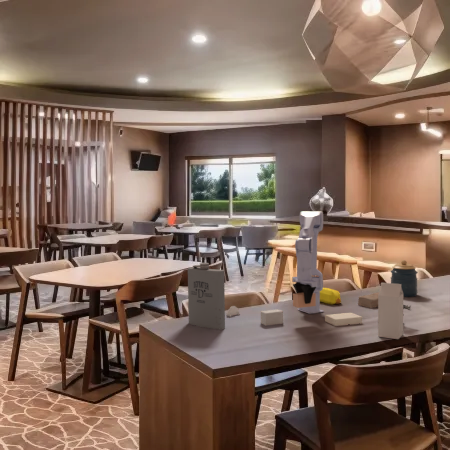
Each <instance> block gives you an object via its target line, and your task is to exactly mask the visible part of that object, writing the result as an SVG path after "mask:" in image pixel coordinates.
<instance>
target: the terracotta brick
mask: <svg viewBox="0 0 450 450" xmlns="http://www.w3.org/2000/svg"><path fill="white" fill-rule="evenodd" d="M311 306H316V293H313V295H312V299H311V303H309V304H305V300H304V293H292V307H295V308H296V309H298V308H302V307H311Z"/></svg>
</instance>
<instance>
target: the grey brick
mask: <svg viewBox="0 0 450 450" xmlns="http://www.w3.org/2000/svg"><path fill="white" fill-rule="evenodd" d="M260 324H261V325H263V326H265V327H266V326H274V325H281V324H284V311H283V310H281V309H278V308H277V309H268V310H261V311H260Z"/></svg>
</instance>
